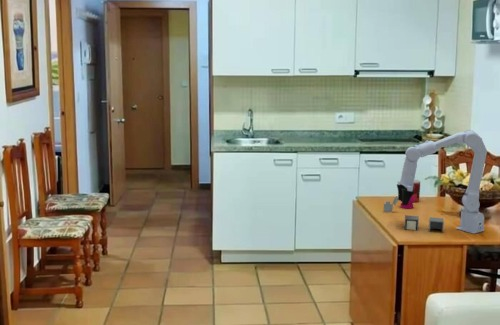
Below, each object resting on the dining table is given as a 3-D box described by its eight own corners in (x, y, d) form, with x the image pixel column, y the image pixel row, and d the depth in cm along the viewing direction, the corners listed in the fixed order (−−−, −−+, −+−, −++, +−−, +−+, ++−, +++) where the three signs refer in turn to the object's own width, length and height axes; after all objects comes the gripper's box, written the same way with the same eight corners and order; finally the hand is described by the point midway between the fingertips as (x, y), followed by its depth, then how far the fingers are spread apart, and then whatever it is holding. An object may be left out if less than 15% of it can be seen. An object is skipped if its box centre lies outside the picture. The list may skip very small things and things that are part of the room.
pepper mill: (414, 209, 299) (416, 170, 295) (399, 208, 300) (401, 169, 297) (413, 206, 306) (415, 167, 302) (399, 205, 307) (401, 167, 304)
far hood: (404, 225, 270) (405, 215, 269) (417, 227, 268) (418, 216, 267) (404, 229, 264) (405, 218, 263) (417, 230, 263) (418, 219, 262)
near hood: (428, 228, 266) (429, 217, 266) (442, 229, 265) (443, 218, 264) (429, 231, 261) (429, 220, 260) (442, 232, 259) (443, 221, 259)
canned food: (401, 199, 319) (402, 179, 317) (413, 198, 322) (415, 179, 320) (408, 203, 312) (410, 182, 310) (422, 202, 314) (423, 181, 313)
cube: (406, 226, 268) (407, 218, 268) (415, 227, 267) (416, 218, 267) (406, 229, 265) (407, 220, 264) (415, 230, 264) (416, 221, 263)
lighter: (383, 212, 293) (384, 196, 292) (383, 211, 295) (384, 195, 293) (398, 212, 293) (399, 196, 291) (397, 211, 294) (398, 196, 293)
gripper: (396, 168, 273) (390, 197, 276) (403, 175, 259) (397, 205, 261) (411, 171, 273) (405, 199, 276) (419, 178, 259) (413, 208, 262)
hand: (402, 202), depth 269 cm, fingers open, 7 cm apart
